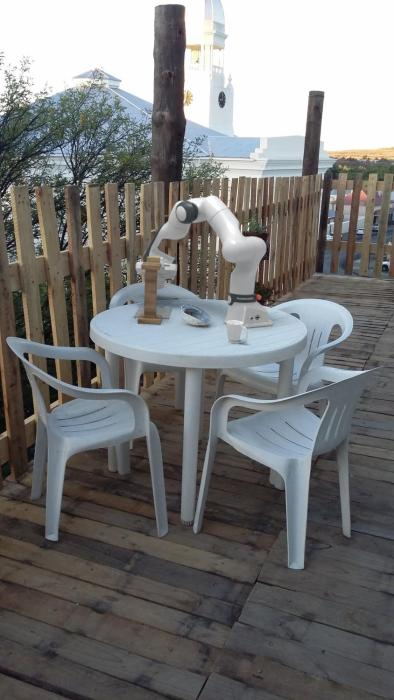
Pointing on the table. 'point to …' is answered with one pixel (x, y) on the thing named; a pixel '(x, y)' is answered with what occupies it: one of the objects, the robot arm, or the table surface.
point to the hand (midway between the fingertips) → (155, 262)
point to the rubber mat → (159, 311)
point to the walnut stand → (150, 294)
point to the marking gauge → (153, 260)
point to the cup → (235, 331)
